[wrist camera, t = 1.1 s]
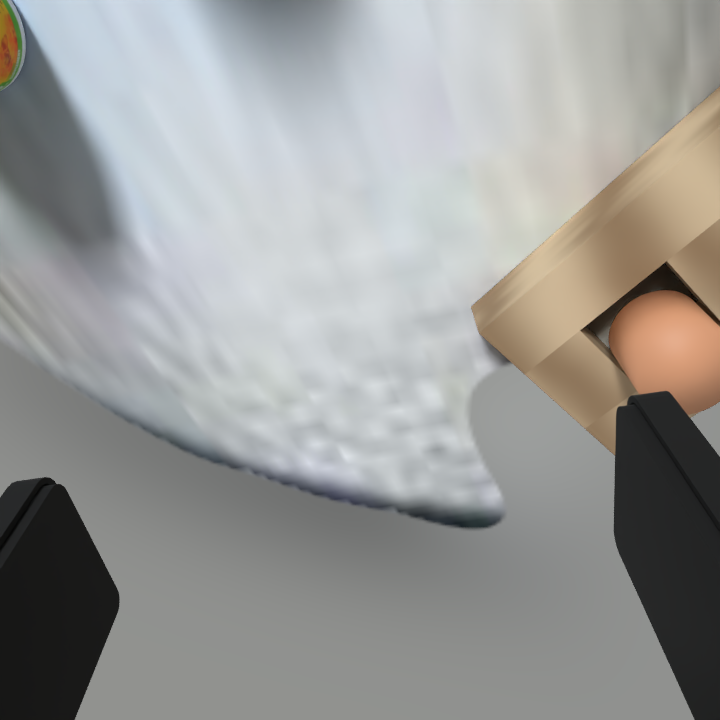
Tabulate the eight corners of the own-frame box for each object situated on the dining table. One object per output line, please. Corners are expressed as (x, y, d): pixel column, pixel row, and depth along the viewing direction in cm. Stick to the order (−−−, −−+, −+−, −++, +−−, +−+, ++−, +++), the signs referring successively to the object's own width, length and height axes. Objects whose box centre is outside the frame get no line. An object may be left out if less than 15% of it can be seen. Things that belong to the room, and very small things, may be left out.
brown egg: (667, 272, 30) (706, 309, 27) (719, 329, 32) (762, 372, 28) (590, 333, 32) (617, 376, 28) (643, 385, 33) (674, 432, 30)
